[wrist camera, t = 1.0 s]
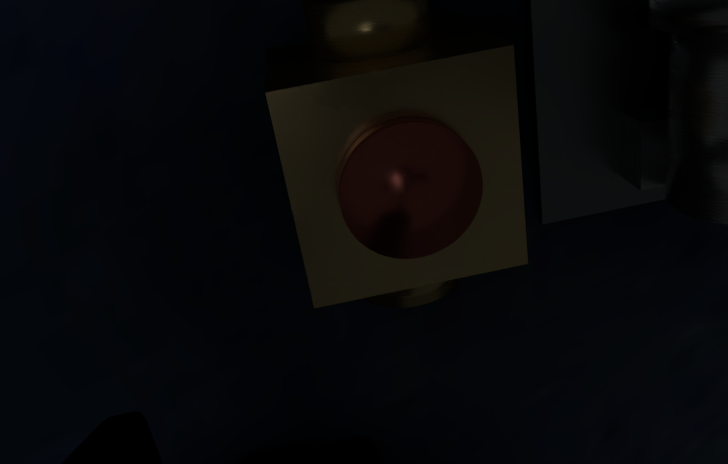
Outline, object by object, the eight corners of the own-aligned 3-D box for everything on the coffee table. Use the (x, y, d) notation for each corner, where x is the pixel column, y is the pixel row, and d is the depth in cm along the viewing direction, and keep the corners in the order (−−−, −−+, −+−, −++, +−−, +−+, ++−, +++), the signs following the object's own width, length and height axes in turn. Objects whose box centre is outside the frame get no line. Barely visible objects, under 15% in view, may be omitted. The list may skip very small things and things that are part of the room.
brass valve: (473, 223, 21) (538, 318, 16) (311, 256, 21) (326, 364, 16) (446, -35, 18) (518, -17, 13) (254, 0, 17) (250, 33, 12)
